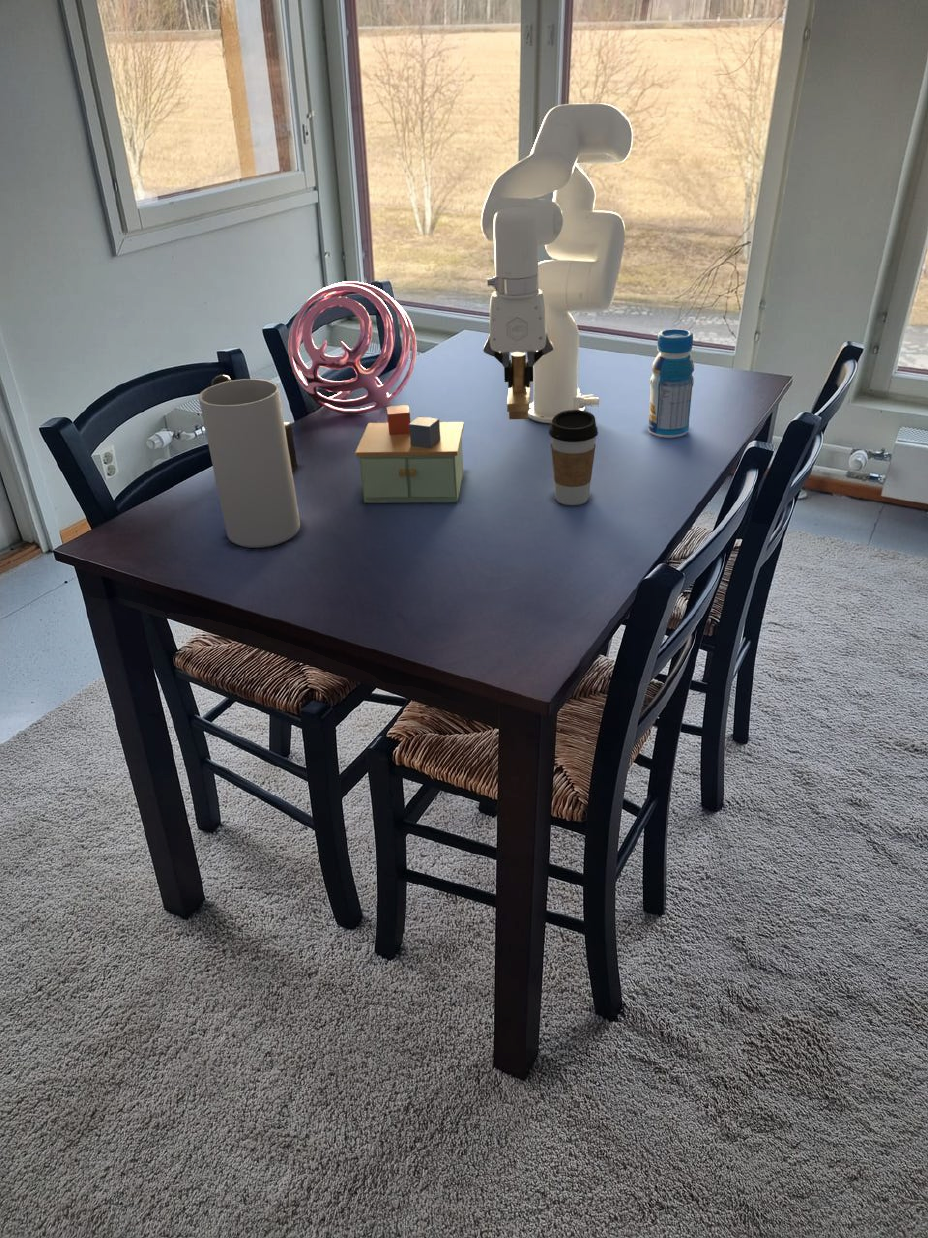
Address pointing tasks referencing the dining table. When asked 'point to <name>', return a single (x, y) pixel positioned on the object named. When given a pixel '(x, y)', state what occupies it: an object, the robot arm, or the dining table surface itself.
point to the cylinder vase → (251, 461)
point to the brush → (518, 389)
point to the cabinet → (410, 466)
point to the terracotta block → (398, 419)
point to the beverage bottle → (671, 384)
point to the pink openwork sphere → (351, 350)
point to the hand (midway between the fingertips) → (519, 384)
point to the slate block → (424, 432)
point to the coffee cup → (573, 455)
